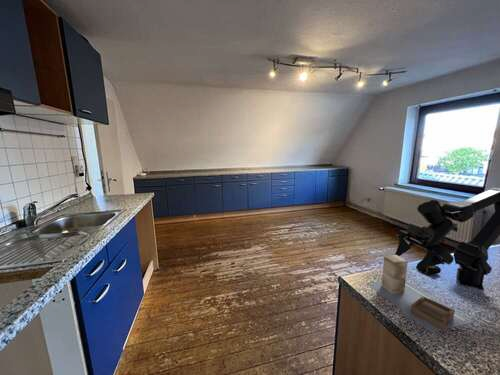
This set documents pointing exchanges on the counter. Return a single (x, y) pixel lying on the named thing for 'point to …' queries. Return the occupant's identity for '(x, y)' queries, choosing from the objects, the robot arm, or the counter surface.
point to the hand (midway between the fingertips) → (405, 262)
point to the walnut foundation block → (432, 312)
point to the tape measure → (431, 270)
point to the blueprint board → (411, 297)
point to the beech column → (394, 274)
